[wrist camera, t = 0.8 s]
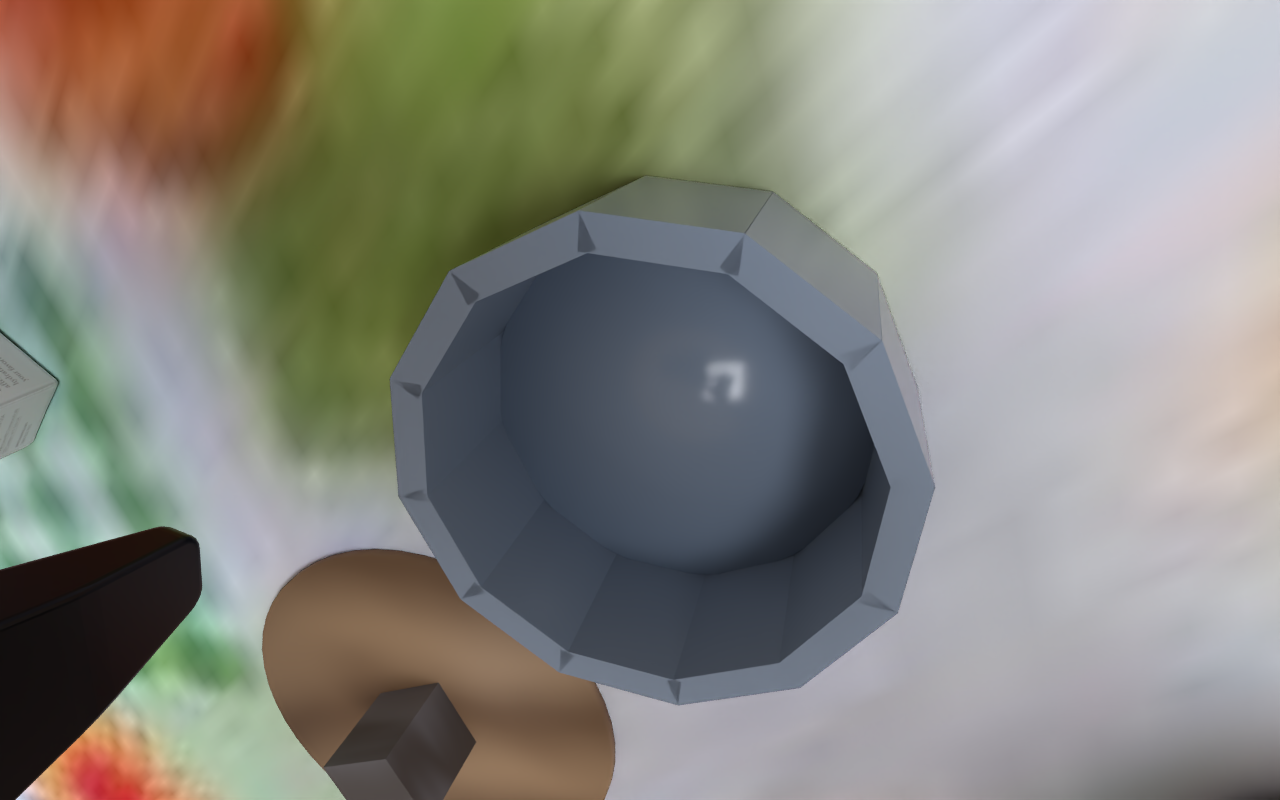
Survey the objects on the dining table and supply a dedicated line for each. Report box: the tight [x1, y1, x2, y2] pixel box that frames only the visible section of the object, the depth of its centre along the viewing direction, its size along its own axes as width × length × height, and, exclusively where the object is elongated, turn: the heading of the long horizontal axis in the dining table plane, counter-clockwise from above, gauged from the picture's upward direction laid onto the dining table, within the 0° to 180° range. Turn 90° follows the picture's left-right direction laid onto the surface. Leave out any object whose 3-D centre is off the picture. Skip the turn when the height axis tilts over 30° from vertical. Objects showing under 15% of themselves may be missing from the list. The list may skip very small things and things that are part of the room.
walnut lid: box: [262, 549, 615, 800], centre depth 28 cm, size 15×15×4 cm
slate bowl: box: [390, 176, 935, 705], centre depth 19 cm, size 12×12×5 cm
